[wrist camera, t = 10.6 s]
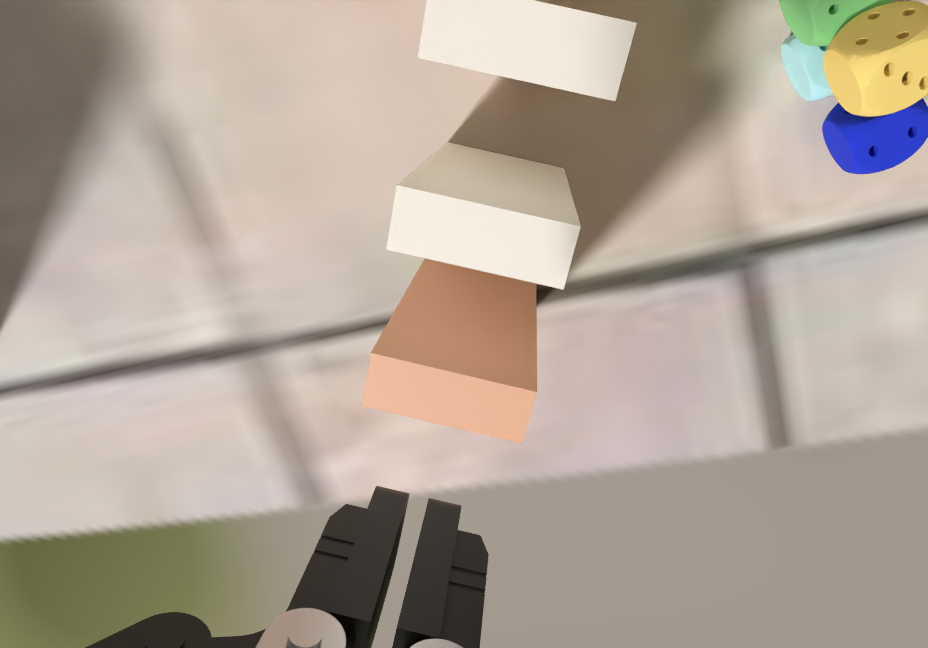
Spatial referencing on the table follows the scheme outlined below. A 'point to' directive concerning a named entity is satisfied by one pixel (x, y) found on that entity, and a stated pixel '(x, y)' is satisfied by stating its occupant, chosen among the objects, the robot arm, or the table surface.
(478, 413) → the domino end
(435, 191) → the domino
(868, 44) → the dice
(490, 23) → the domino
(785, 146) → the table surface
